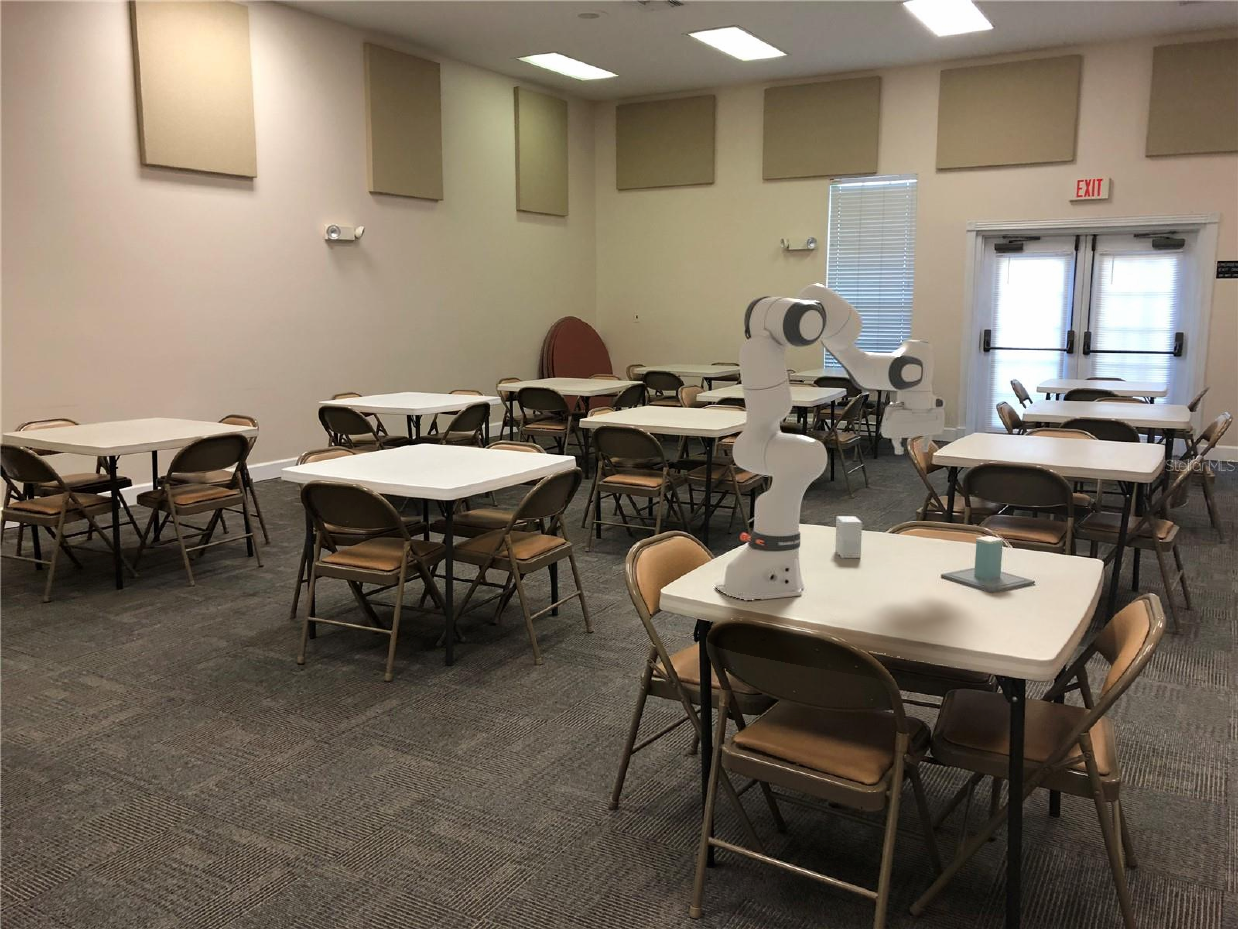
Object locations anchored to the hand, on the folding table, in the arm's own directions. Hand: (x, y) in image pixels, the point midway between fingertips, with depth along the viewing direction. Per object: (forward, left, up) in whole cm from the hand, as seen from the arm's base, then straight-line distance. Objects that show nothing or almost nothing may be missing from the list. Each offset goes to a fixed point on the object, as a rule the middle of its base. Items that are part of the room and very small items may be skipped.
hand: (911, 452), depth 241 cm
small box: (-6, +16, -31) cm, 36 cm away
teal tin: (+7, -21, -30) cm, 37 cm away
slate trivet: (+7, -21, -31) cm, 38 cm away
